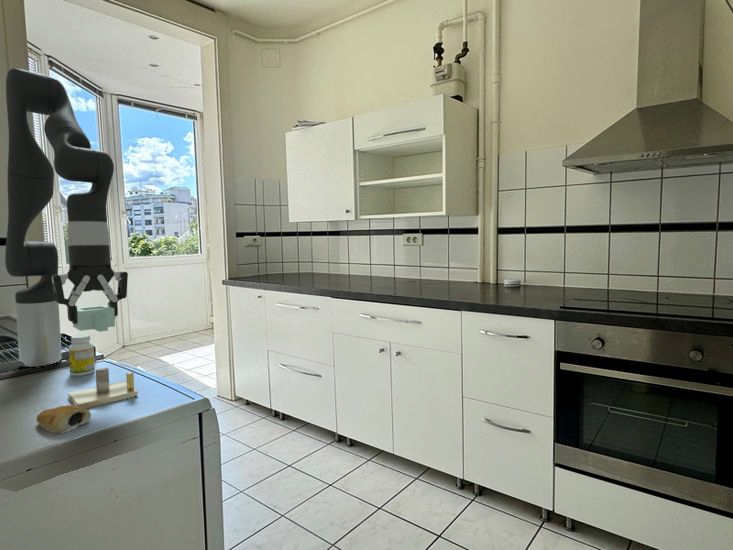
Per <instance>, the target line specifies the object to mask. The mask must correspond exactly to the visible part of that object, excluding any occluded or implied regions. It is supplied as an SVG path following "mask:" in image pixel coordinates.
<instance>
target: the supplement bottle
mask: <svg viewBox="0 0 733 550" xmlns="http://www.w3.org/2000/svg"><path fill="white" fill-rule="evenodd" d="M70 341H71V344H70V345H69V347H68V360H69V362H68V363H69V374H70V375H71V376H74V377H80V376H86V375H87V376H88V375H90V374H93V373H94V372H96V367H95V366H96V365H95V364H96V363H95V349H94V346H95V345H94V344H93V343H92V342H90V341H91V335H90V334H76V335H73V336H71V339H70Z"/></svg>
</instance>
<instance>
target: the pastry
mask: <svg viewBox="0 0 733 550" xmlns="http://www.w3.org/2000/svg"><path fill="white" fill-rule="evenodd" d="M91 418H92V414H91V412H90V411H89V408H86V409H85V408H84V407H82V408H81V407H78V406H75V405H74V404H70V405H69V404H68V405H61V406H58V407H54V408H47V409H44V410H42V411H41V412H40V413H39V414H38V415H37V416H36V419H35V420H36V422H37V423H38V424H39V425H40V427H41V429H42V428H43V429H48V430H50V431H52V432H56V433H55V434H57V433H62V432H65V431H68V430H71V429H73V428H75V427H77V426H79V425H82V426H84V425H86V424H87V423H88V422H89V421H90V420H91ZM85 423H86V424H85ZM83 424H84V425H83ZM79 427H80V426H79ZM77 428H78V427H77ZM43 429H42V430H43ZM50 431H49V432H50ZM52 432H51V433H52ZM65 433H66V432H65ZM62 434H63V433H62Z"/></svg>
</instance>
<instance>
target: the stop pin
mask: <svg viewBox="0 0 733 550" xmlns="http://www.w3.org/2000/svg"><path fill="white" fill-rule="evenodd" d="M134 373H135V372H128V373H126V374H125V375H126V383H127V391H134V389H135V374H134Z"/></svg>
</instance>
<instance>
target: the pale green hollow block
mask: <svg viewBox="0 0 733 550" xmlns="http://www.w3.org/2000/svg"><path fill="white" fill-rule="evenodd" d="M115 319H116V316H115V315H114V308H112V307H109V306H108V305H96V306H95V305H93V306H85V307H77V321H78V323H77V324H73V323H72V327H73V328H74V329H76V330H78V331H80V332H81V331H90V330H95V331H97V332H99V333H100V332H107V331H109V328H112V327H113V328H114V327H116V320H115Z"/></svg>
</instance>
